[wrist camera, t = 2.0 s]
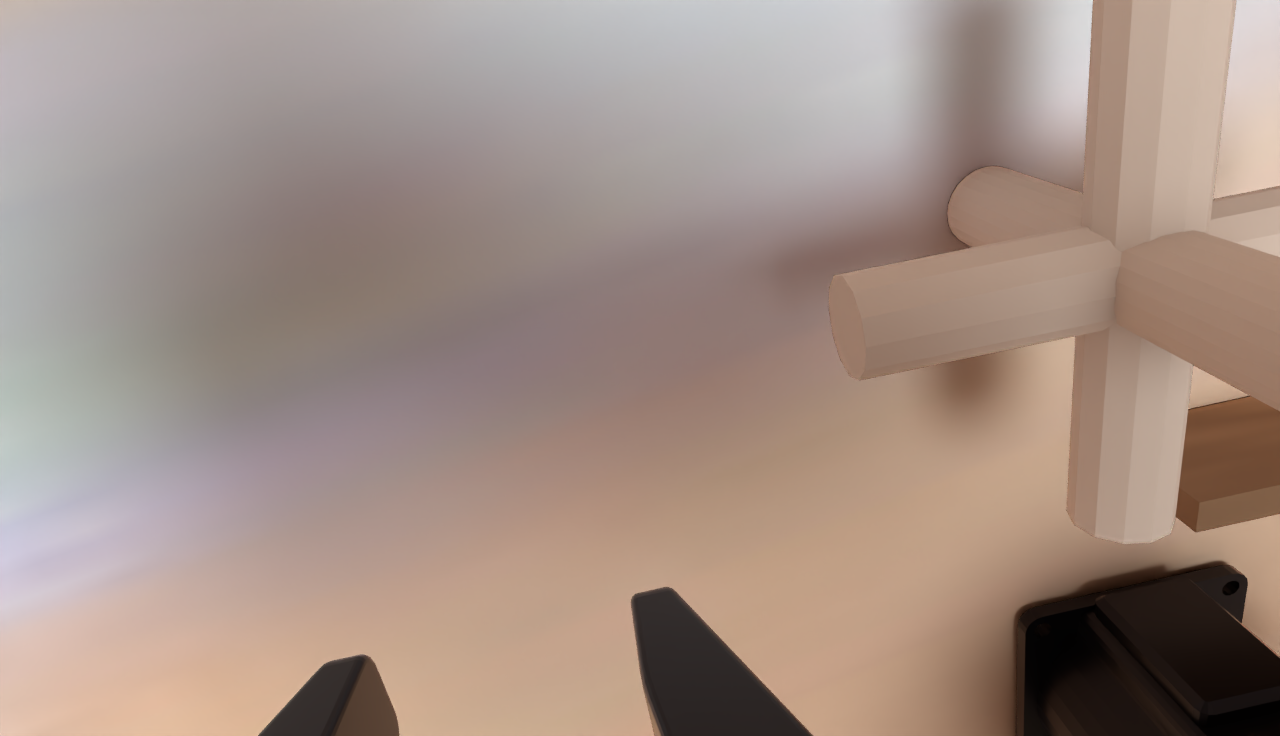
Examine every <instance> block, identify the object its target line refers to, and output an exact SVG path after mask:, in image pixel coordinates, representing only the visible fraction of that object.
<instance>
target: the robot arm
mask: <svg viewBox="0 0 1280 736" xmlns="http://www.w3.org/2000/svg"><path fill="white" fill-rule="evenodd" d="M1247 586H1248V582H1247V578H1246V577H1245V576H1244V575H1243V574H1242V573H1241V572H1239V571H1238V570H1237V569H1236V568H1234V567H1233V566H1230V565H1221V566H1216V567H1212V568H1207V569H1203V570H1198V571H1194V572H1190V573H1185V574H1181V575H1176V576H1172V577H1167V578H1163V579H1158V580H1154V581H1149V582H1145V583H1140V584H1136V585H1132V586H1127V587H1123V588H1118V589H1114V590H1109V591H1105V592H1100V593H1096V594H1091V595H1087V596H1083V597H1078V598H1074V599H1069V600H1065V601H1060V602H1056V603H1051V604H1047V605H1042V606H1038V607H1034V608H1032V609H1029V610H1027V611H1026V612H1025V613H1023V614H1022V616H1021V617H1020V619H1019V622H1018V641H1017V716H1016V736H1280V656H1279V655H1277V654H1276V653H1275V652H1274V651H1273V650H1272V649H1270V648H1269V647H1268V646H1267V645H1266V644H1265V643H1264V642H1262V641H1261V640H1260V639H1259V638H1258V637H1257V636H1255V635H1254V634H1253V633H1252V632H1251V631H1250V630H1248V629H1247V628H1246V627H1245V626H1244V625H1243V624H1242V617H1243V611H1244V605H1245V598H1246V592H1247ZM631 608H632V615H633V623H634V630H635V637H636V645H637V652H638V660H639V667H640V674H641V679H642V684H643V689H644V693H645V697H646V701H647V706H648V710H649V714H650V718H651V722H652V727H653V731H654V735H655V736H813V735H812V734H811V733H810V732H809V731H808V730H807V729H806V728H805V727H804V725H803V724H802V723H801V722H800V721H799V720H798V719H797V718H796V717H795V716H794V715H793V714H792V713H791V712H790V711H789V710H788V709H787V708H786V707H785V706H784V705H783V703H782V702H781V701H780V700H779V699H778V698H777V697H776V696H775V695H774V694H773V693H772V692H771V691H770V690H769V689H768V688H767V687H766V686H765V685H764V684H763V683H762V681H761V680H760V679H759V678H758V677H757V676H756V675H755V674H754V673H753V672H752V671H751V670H750V669H749V668H748V667H747V666H746V665H745V664H744V663H743V662H742V660H741V659H740V658H739V657H738V656H737V655H736V654H735V653H734V652H733V651H732V650H731V649H730V648H729V647H728V646H727V645H726V644H725V643H724V642H723V641H722V640H721V638H720V637H719V636H718V635H717V634H716V633H715V632H714V631H713V630H712V629H711V628H710V627H709V626H708V625H707V624H706V623H705V622H704V621H703V620H702V619H701V618H700V616H699V615H698V614H697V613H696V612H695V611H694V610H693V609H692V608H691V607H690V606H689V605H688V604H687V603H686V602H685V601H684V600H683V599H682V598H681V597H680V596H679V594H678V593H677V592H676V591H674V590H673V589H672V588H669V587H664V588H659V589H655V590H650V591H646V592H641V593H637V594H635V595H634V596H633V597H632V599H631ZM1038 625H1039V626H1038ZM1037 626H1038V627H1037ZM258 736H399V727H398V721H397V717H396V713H395V711H394V708H393V706H392V703H391V701H390V699H389V696H388V694H387V691H386V689H385V686H384V684H383V682H382V679H381V677H380V674H379V672H378V670H377V667H376V665H375V663H374V662H373V660H372V659H371V658H370V657H369V656H366V655H356V656H352V657H347V658H343V659H338V660H334V661H330V662H328V663H326V664H324V665H323V666H322V667H321V668H320V669H319V670H318V671H317V672H316V673H315V674H314V675H313V676H312V677H311V678H310V679H309V681H308V682H307V683H306V684H305V685H304V686H303V687H302V688H301V689H300V690H299V691H298V693H297V694H296V695H295V696H294V697H293V698H292V699H291V700H290V701H289V702H288V703H287V705H286V706H285V707H284V708H283V709H282V710H281V711H280V712H279V713H278V714H277V715H276V717H275V718H274V719H273V720H272V721H271V722H270V723H269V724H268V725H267V726H266V727H265V729H264V730H263V731H262V732H261V733H260V734H259V735H258Z"/></svg>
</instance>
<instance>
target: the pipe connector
mask: <svg viewBox="0 0 1280 736" xmlns="http://www.w3.org/2000/svg"><path fill="white" fill-rule="evenodd" d="M1235 8H1236V0H1093V10H1092V29H1091V48H1090V67H1089V86H1088V105H1087V125H1086V144H1085V163H1084V182H1083V193H1081V192H1078V191H1075V190H1072V189H1069V188H1066V187H1063V186H1060V185H1057V184H1053V183H1050V182H1047V181H1044V180H1041V179H1038V178H1035V177H1032V176H1029V175H1026V174H1023V173H1020V172H1017V171H1014V170H1010V169H1007V168H1004V167H999V166H987V167H983V168H980V169H977V170H975V171H974V172H972V173H970V174H969V175H967V176H966V177H965V178H964V179H963V180H962V181H961V182H960V183H959V184H958V185H957V187H956V188H955V190H954V192H953V193H952V195H951V198H950V201H949V204H948V212H947V217H948V223H949V226H950V228H951V231H952V233H953V234H954V235H955V236H956V237H957V238H958V239H959V240H960V241H962V242H964V243H965V244H967V245H969V246H971V247H972V248H967V249H962V250H957V251H952V252H947V253H942V254H937V255H932V256H928V257H923V258H918V259H913V260H908V261H903V262H898V263H893V264H888V265H883V266H878V267H873V268H868V269H863V270H858V271H853V272H848V273H843V274H838V275H834V277H833V279H832V282H831V284H830V287H829V314H830V321H831V327H832V333H833V338H834V341H835V344H836V347H837V350H838V354H839V357H840V360H841V362H842V363H843V365H844V367H845V369H846V370H847V372H848V374H849V376H851V377H853V378H855V379H857V380H864V379H869V378H874V377H878V376H883V375H888V374H893V373H898V372H903V371H908V370H913V369H917V368H922V367H927V366H932V365H937V364H942V363H947V362H951V361H956V360H961V359H966V358H971V357H976V356H981V355H986V354H990V353H995V352H1000V351H1005V350H1010V349H1015V348H1020V347H1025V346H1029V345H1034V344H1039V343H1044V342H1049V341H1054V340H1059V339H1063V338H1068V337H1073V336H1075V354H1074V373H1073V392H1072V411H1071V431H1070V450H1069V469H1068V488H1067V507H1066V511H1067V513H1068V515H1069V516H1070V518H1071V520H1072V522H1073V524H1074V525H1075V526H1077V527H1079V528H1080V529H1082V530H1084V531H1085V532H1087V533H1089V534H1090V535H1092V536H1094V537H1096V538H1100V539H1104V540H1109V541H1113V542H1117V543H1121V544H1135V543H1152V542H1154V541H1156V540H1159V539H1161V538H1163V537H1165V536H1167V535H1169V534H1171V531H1172V528H1173V525H1174V522H1175V517H1176V508H1177V500H1178V491H1179V483H1180V474H1181V466H1182V457H1183V449H1184V440H1185V432H1186V423H1187V415H1188V406H1189V398H1190V390H1191V381H1192V373H1193V365H1194V366H1196V367H1198V368H1200V369H1201V370H1203V371H1205V372H1207V373H1209V374H1211V375H1213V376H1215V377H1216V378H1218V379H1220V380H1222V381H1224V382H1226V383H1228V384H1230V385H1231V386H1233V387H1235V388H1237V389H1239V390H1241V391H1243V392H1245V393H1246V394H1248V395H1250V396H1252V397H1254V398H1256V399H1258V400H1260V401H1261V402H1263V403H1265V404H1267V405H1269V406H1271V407H1273V408H1275V409H1276V410H1278V411H1280V186H1277V187H1272V188H1267V189H1262V190H1257V191H1252V192H1247V193H1242V194H1237V195H1232V196H1227V197H1222V198H1217V199H1213V195H1214V186H1215V178H1216V169H1217V161H1218V152H1219V144H1220V135H1221V127H1222V118H1223V110H1224V102H1225V93H1226V85H1227V76H1228V68H1229V59H1230V51H1231V42H1232V34H1233V25H1234V17H1235Z"/></svg>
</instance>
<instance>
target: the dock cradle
mask: <svg viewBox="0 0 1280 736" xmlns="http://www.w3.org/2000/svg"><path fill="white" fill-rule="evenodd" d="M1276 514H1280V411H1278V410H1276V409H1275V408H1273V407H1271V406H1269V405H1267V404H1265V403H1263V402H1261V401H1260V400H1258V399H1256V398H1254V397H1252V396H1250V397H1245V398H1241V399H1236V400H1232V401H1227V402H1223V403H1218V404H1213V405H1209V406H1204V407H1200V408H1195V409H1190V410H1188V415H1187V423H1186V432H1185V440H1184V449H1183V457H1182V466H1181V474H1180V483H1179V491H1178V500H1177V508H1176V517H1177V518H1178V519H1179V520H1181V521H1182V522H1183V523H1185V524H1186V525H1187V526H1188V527H1190V528H1191V529H1192V530H1193V531H1195V532H1200V531H1205V530H1209V529H1214V528H1218V527H1222V526H1227V525H1231V524H1236V523H1240V522H1245V521H1249V520H1254V519H1258V518H1263V517H1267V516H1272V515H1276Z"/></svg>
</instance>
